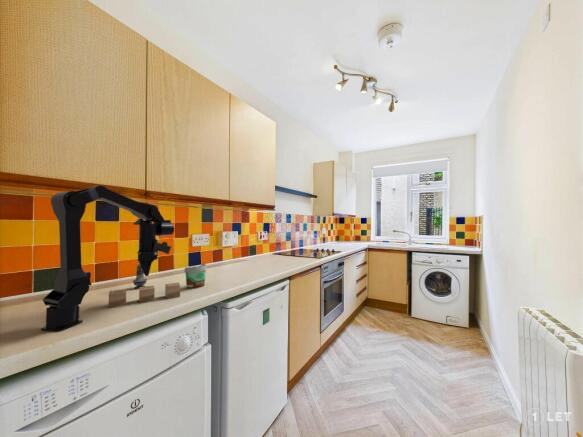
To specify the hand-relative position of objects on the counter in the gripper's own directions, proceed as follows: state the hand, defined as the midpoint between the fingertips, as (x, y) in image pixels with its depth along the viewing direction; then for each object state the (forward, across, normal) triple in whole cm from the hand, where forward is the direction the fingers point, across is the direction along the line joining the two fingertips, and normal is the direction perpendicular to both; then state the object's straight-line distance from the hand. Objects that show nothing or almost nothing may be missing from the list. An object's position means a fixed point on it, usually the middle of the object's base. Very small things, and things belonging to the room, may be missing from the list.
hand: (146, 275), depth 93 cm
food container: (+10, +10, -22) cm, 26 cm away
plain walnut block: (+10, 0, 0) cm, 10 cm away
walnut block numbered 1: (+10, 0, -9) cm, 14 cm away
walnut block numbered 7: (+10, 0, +9) cm, 13 cm away
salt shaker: (+10, +24, +2) cm, 26 cm away
